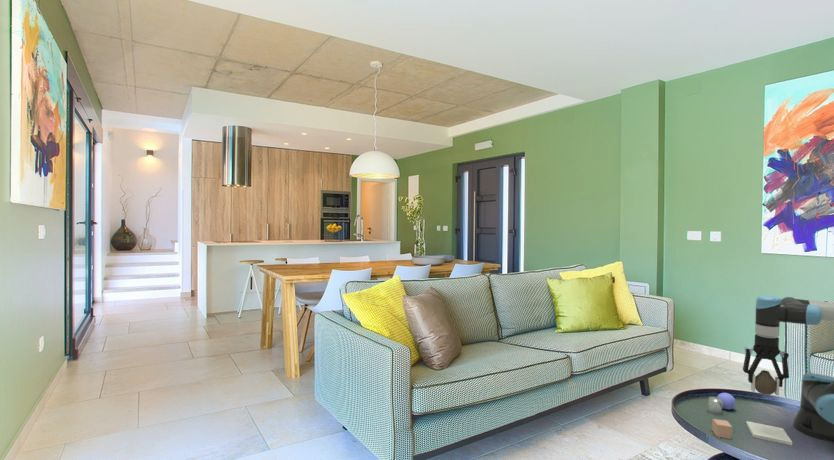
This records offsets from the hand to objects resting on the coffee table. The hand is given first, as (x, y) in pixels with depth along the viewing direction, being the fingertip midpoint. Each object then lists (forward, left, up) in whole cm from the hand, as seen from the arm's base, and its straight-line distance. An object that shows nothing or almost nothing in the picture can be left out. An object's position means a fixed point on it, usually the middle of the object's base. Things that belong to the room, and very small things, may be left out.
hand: (764, 392), depth 175 cm
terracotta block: (+15, +10, -17) cm, 25 cm away
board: (-2, 0, -16) cm, 17 cm away
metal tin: (+14, -12, -17) cm, 25 cm away
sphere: (+9, -19, -17) cm, 27 cm away
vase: (0, 0, 0) cm, 0 cm away
